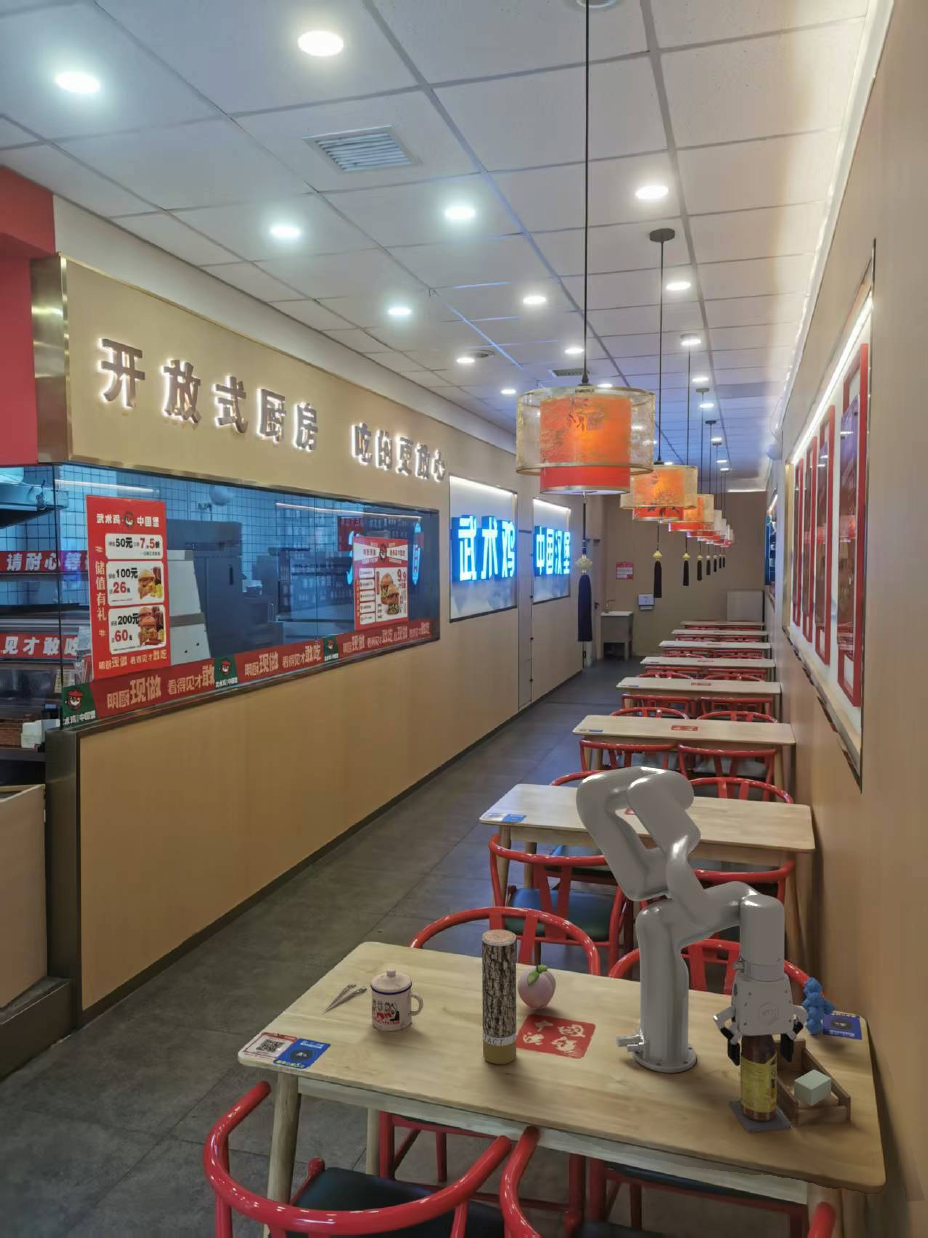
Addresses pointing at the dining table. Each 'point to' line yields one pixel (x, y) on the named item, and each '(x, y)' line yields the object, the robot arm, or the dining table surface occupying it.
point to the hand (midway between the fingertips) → (760, 1059)
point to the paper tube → (499, 996)
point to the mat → (755, 1125)
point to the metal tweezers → (346, 996)
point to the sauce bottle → (758, 1077)
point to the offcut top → (812, 1087)
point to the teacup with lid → (393, 1000)
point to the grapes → (815, 1006)
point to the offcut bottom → (820, 1102)
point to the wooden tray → (790, 1104)
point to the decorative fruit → (536, 987)
